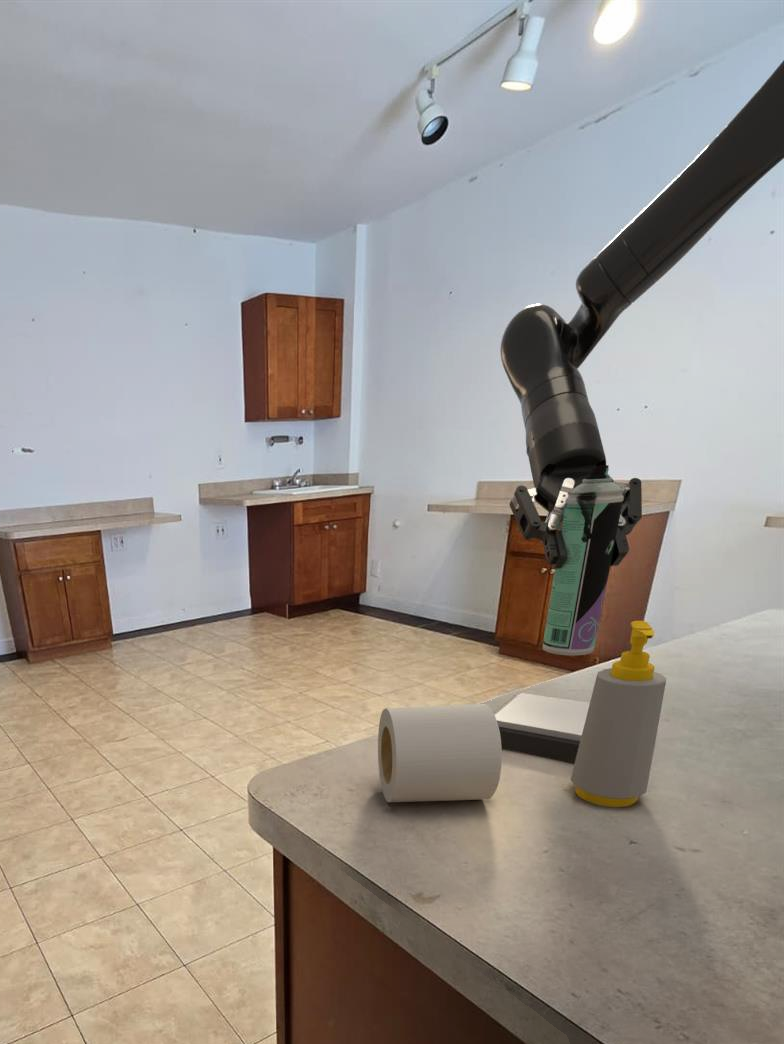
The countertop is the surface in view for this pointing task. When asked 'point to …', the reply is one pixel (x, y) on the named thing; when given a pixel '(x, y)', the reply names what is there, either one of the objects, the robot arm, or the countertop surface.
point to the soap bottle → (620, 728)
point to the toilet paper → (439, 753)
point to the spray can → (583, 564)
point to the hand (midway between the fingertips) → (589, 562)
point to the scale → (542, 726)
